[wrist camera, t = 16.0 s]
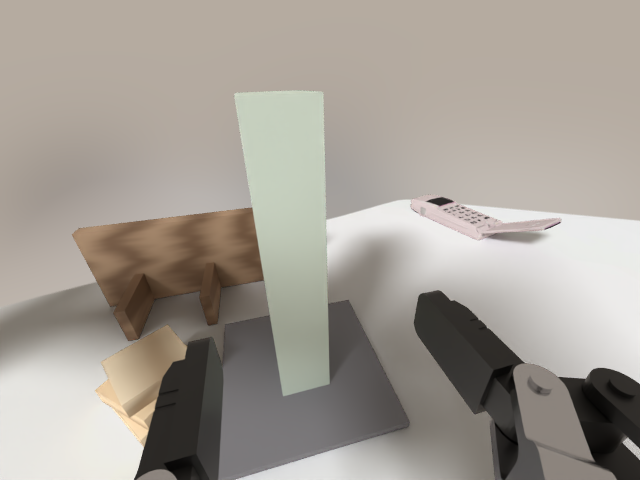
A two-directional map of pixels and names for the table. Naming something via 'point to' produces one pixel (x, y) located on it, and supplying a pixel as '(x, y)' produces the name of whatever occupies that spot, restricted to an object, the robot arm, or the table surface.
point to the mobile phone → (471, 218)
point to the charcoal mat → (300, 398)
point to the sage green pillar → (290, 225)
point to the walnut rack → (171, 261)
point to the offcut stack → (140, 378)
